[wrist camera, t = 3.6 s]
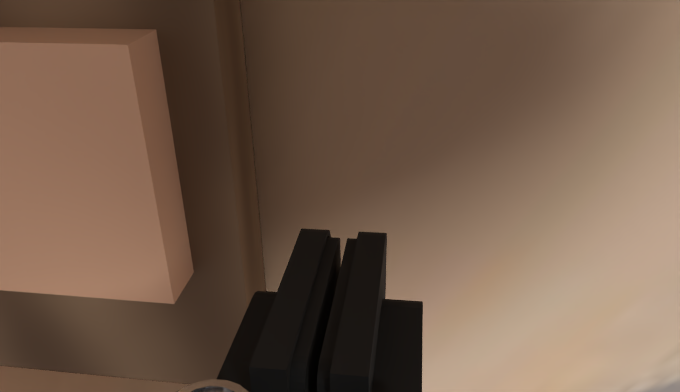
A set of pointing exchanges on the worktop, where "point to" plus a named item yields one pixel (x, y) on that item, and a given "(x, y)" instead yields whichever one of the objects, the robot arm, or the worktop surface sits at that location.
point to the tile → (88, 167)
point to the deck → (198, 199)
